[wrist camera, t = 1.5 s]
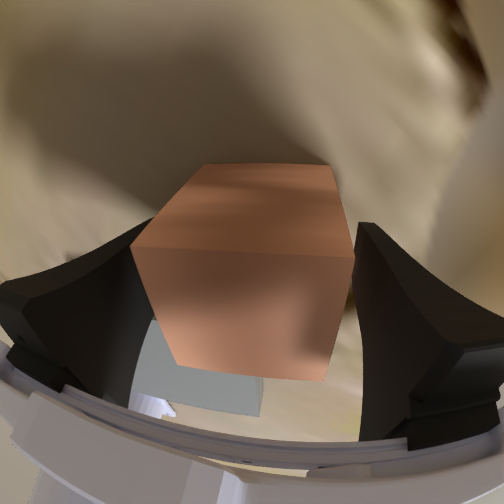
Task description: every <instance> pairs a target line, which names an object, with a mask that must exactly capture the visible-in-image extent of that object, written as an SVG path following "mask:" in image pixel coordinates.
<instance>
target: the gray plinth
mask: <svg viewBox="0 0 504 504" xmlns="http://www.w3.org/2000/svg"><path fill="white" fill-rule="evenodd" d="M131 388H132V390H133V391H135V392H138V393H141V394H145V395H148V396H152V397H155V398H159V399H163V400H167V401H171V402H175V403H180V404H184V405H188V406H193V407H198V408H203V409H208V410H214V411H220V412H226V413H232V414H239V415H246V416H254V417H259V415H260V409H261V403H262V397H263V391H264V388H263V377H256V376H247V375H238V374H231V373H223V372H216V371H210V370H204V369H198V368H192V367H186V366H181V365H177V363H176V361H175V359H174V357H173V355H172V352H171V350H170V348H169V346H168V344H167V341H166V339H165V337H164V335H163V332H162V330H161V328H160V325H159V323H158V321H157V318H156V316H155V315H154V317H153V319H152V321H151V323H150V326H149V328H148V331H147V334H146V337H145V339H144V342H143V345H142V348H141V352H140V355H139V359H138V362H137V366H136V370H135V374H134V378H133V383H132V387H131Z"/></svg>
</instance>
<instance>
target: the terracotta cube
mask: <svg viewBox="0 0 504 504" xmlns="http://www.w3.org/2000/svg"><path fill="white" fill-rule="evenodd" d="M130 248H131V251H132V254H133V257H134V260H135V263H136V266H137V269H138V272H139V274H140V277H141V280H142V283H143V285H144V288H145V291H146V293H147V296H148V298H149V301H150V304H151V306H152V308H153V311H154V313H155V316H156V318H157V321H158V323H159V325H160V328H161V330H162V332H163V335H164V337H165V339H166V341H167V344H168V346H169V348H170V350H171V352H172V355H173V357H174V359H175V361H176V363H177V365H181V366H186V367H192V368H198V369H204V370H210V371H216V372H223V373H231V374H238V375H247V376H256V377H266V378H277V379H291V380H310V381H324V377H325V374H326V371H327V368H328V365H329V361H330V358H331V355H332V351H333V348H334V344H335V341H336V337H337V334H338V330H339V326H340V323H341V319H342V315H343V311H344V307H345V303H346V298H347V294H348V290H349V285H350V281H351V276H352V272H353V267H354V262H355V254H354V250H353V245H352V241H351V237H350V233H349V229H348V225H347V221H346V217H345V214H344V210H343V206H342V203H341V199H340V195H339V192H338V188H337V185H336V182H335V178H334V175H333V172H332V169H331V166H330V165H313V164H288V163H218V164H204V165H203V166H202V167H201V168H200V169H199V170H198V171H197V172H196V173H195V174H194V175H193V176H192V177H191V178H190V179H189V180H188V181H187V182H186V183H185V184H184V186H183V187H182V188H181V189H180V190H179V191H178V192H177V193H176V194H175V195H174V196H173V197H172V198H171V199H170V200H169V202H168V203H167V204H166V205H165V206H164V207H163V208H162V209H161V210H160V212H159V213H158V214H157V215H156V216H155V217H154V218H153V219H152V221H151V222H150V223H149V224H148V225H147V226H146V227H145V229H144V230H143V231H142V232H141V233H140V234H139V236H138V237H137V238H136V239H135V240H134V242H133V243H132V244H131V245H130Z"/></svg>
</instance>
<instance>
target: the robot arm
mask: <svg viewBox="0 0 504 504" xmlns="http://www.w3.org/2000/svg"><path fill="white" fill-rule="evenodd" d="M153 218H154V217H153ZM153 218H151V219H149V220H147V221H145V222H143V223H141V224H139V225H138V226H136V227H134V228H132V229H131V230H129V231H127V232H125V233H124V234H122V235H120V236H118V237H117V238H115V239H113V240H111V241H109V242H108V243H106V244H104V245H102V246H101V247H99V248H97V249H95V250H93V251H91V252H89V253H87V254H85V255H83V256H81V257H78V258H76V259H74V260H72V261H69V262H67V263H64V264H62V265H59V266H57V267H54V268H52V269H49V270H46V271H43V272H40V273H36V274H33V275H29V276H26V277H21V278H17V279H13V280H9V281H5V282H4V283H2V284H1V285H0V325H1V326H2V328H3V329H4V330H5V332H6V333H7V334H8V336H9V337H10V338H11V340H13V342H14V345H13V346H12V348H10V347H9V346H8V345H7V344H6V343H4V342H3V341H1V340H0V416H1V417H2V418H3V419H4V420H5V421H6V422H7V423H8V424H9V425H10V426H11V427H12V428H13V431H12V434H11V436H10V439H11V442H12V444H13V445H14V446H15V447H16V448H17V449H18V450H19V451H20V452H21V453H22V454H23V455H24V456H26V457H27V458H28V459H29V460H30V461H32V462H33V463H34V464H36V465H37V466H38V467H40V471H39V473H38V476H37V479H36V481H35V484H34V487H33V490H32V493H31V495H30V498H29V501H28V504H467V503H469V502H471V501H473V500H475V499H477V498H480V497H482V496H484V495H486V494H488V493H490V492H492V491H494V490H496V489H498V488H499V487H501V486H503V485H504V406H503V407H502V408H500V409H497V405H496V401H498V400H499V399H500V396H501V395H500V392H499V387H500V386H501V385H502V384H503V383H504V317H501V316H499V315H497V314H495V313H493V312H491V311H489V310H487V309H485V308H483V307H481V306H480V305H478V304H476V303H474V302H473V301H471V300H469V299H468V298H466V297H464V296H463V295H461V294H460V293H458V292H457V291H455V290H454V289H452V288H450V287H449V286H448V285H446V284H445V283H443V282H442V281H441V280H439V279H438V278H437V277H435V276H434V275H433V274H431V273H430V272H429V271H428V270H426V269H425V268H424V267H423V266H422V265H420V264H419V263H418V262H417V261H416V260H415V259H413V258H412V257H411V256H410V255H409V254H408V253H407V252H406V251H405V250H403V249H402V248H401V247H400V246H399V245H398V244H397V243H396V242H395V241H394V240H393V239H392V238H391V237H390V236H389V235H388V234H386V233H385V232H384V231H383V230H382V229H381V228H380V227H379V226H378V225H376V224H375V223H369V222H359V223H358V229H357V235H356V241H355V247H354V254H355V262H354V267H353V272H352V288H353V293H354V298H355V304H356V309H357V314H358V319H359V325H360V331H361V337H362V346H363V401H362V416H361V425H360V434H359V442H294V441H280V440H268V439H259V438H251V437H243V436H236V435H230V434H224V433H218V432H213V431H208V430H203V429H198V428H194V427H189V426H185V425H181V424H177V423H173V422H169V421H165V420H162V419H161V417H162V414H164V415H168V416H172V417H175V416H176V413H175V412H174V411H173V409H172V408H171V406H170V405H169V404H168V402H167V401H166V400H163V399H159V398H155V397H152V396H148V395H145V394H141V393H138V392H135V391H133V390H132V388H131V387H132V383H133V378H134V374H135V370H136V366H137V362H138V359H139V355H140V352H141V348H142V345H143V342H144V339H145V337H146V334H147V331H148V328H149V326H150V323H151V321H152V319H153V317H154V315H155V313H154V311H153V308H152V306H151V304H150V301H149V298H148V296H147V293H146V291H145V288H144V285H143V283H142V280H141V277H140V274H139V272H138V269H137V266H136V263H135V260H134V257H133V254H132V251H131V248H130V245H131V244H132V243H133V242H134V240H135V239H136V238H137V237H138V236H139V234H140V233H141V232H142V231H143V230H144V229H145V227H146V226H147V225H148V224H149V223H150V222H151V221H152V219H153ZM196 455H197V456H196ZM199 456H201V457H206V458H211V459H216V460H221V461H226V462H232V463H239V464H245V465H253V466H261V467H271V468H283V469H301V470H309V471H308V472H307V476H306V477H296V476H286V475H278V474H271V473H264V472H258V471H252V470H246V469H241V468H236V467H231V466H226V465H222V464H219V463H216V462H213V461H210V460H207V459H204V458H201V457H199Z"/></svg>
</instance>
